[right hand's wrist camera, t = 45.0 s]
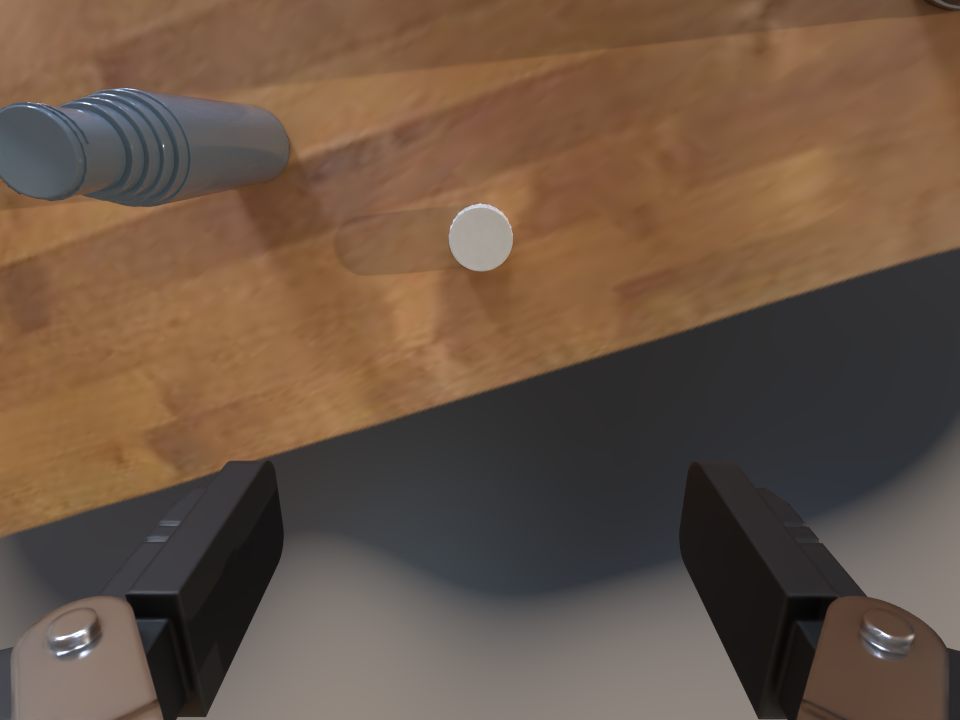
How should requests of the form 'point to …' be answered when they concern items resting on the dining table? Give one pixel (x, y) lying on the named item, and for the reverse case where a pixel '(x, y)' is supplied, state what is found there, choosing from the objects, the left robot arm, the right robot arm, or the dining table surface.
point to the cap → (480, 237)
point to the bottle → (138, 147)
